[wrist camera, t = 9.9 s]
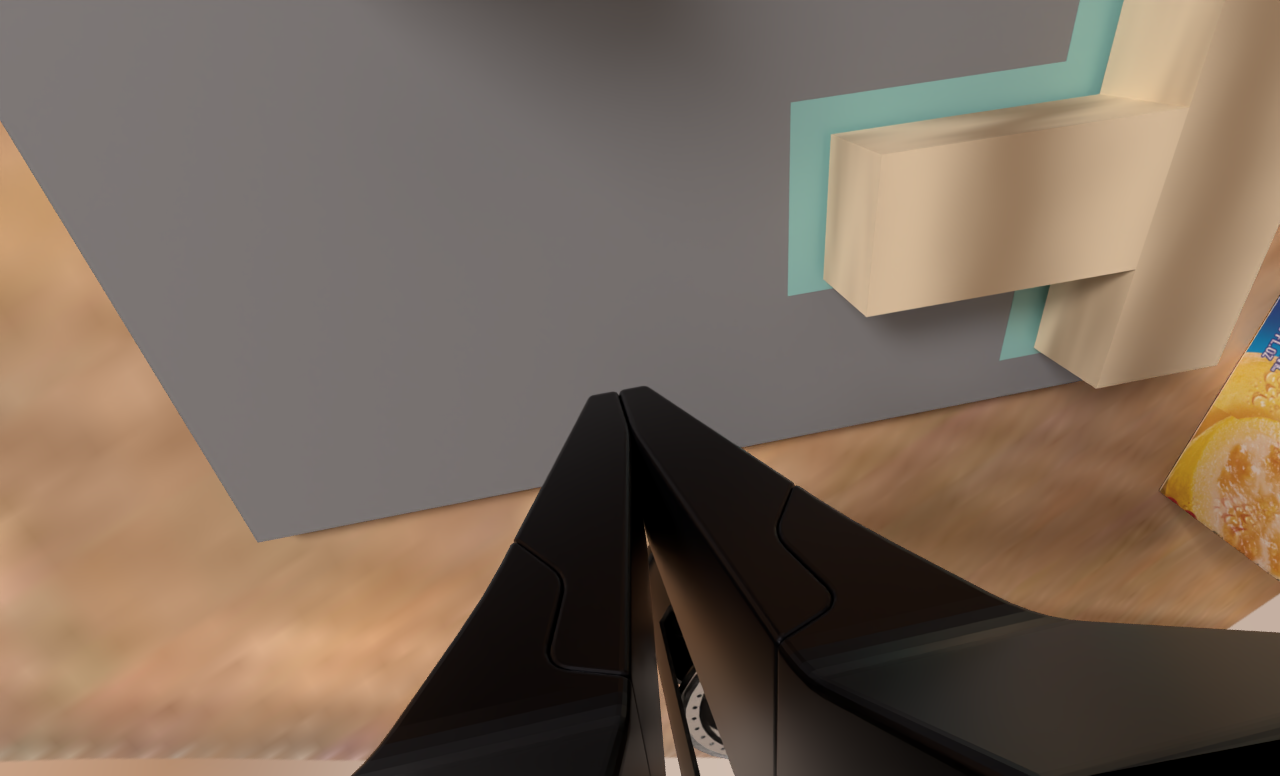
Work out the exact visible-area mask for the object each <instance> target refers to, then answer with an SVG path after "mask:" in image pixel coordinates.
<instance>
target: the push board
mask: <svg viewBox="0 0 1280 776" xmlns="http://www.w3.org/2000/svg"><path fill="white" fill-rule="evenodd" d="M1123 2H1124V0H0V121H1V122H2V124H3V126H4V127H5V129H6V131H7V132H8V134H9V136H10V137H11V139H12V140H13V142H14V144H15V145H16V147H17V149H18V150H19V152H20V154H21V155H22V157H23V159H24V160H25V162H26V163H27V165H28V167H29V168H30V170H31V172H32V173H33V175H34V177H35V178H36V180H37V181H38V183H39V185H40V186H41V188H42V190H43V191H44V193H45V195H46V196H47V198H48V199H49V201H50V203H51V204H52V206H53V208H54V209H55V211H56V213H57V214H58V216H59V218H60V219H61V221H62V222H63V224H64V226H65V227H66V229H67V231H68V232H69V234H70V236H71V237H72V239H73V240H74V242H75V244H76V245H77V247H78V249H79V250H80V252H81V254H82V255H83V257H84V258H85V260H86V262H87V263H88V265H89V267H90V268H91V270H92V272H93V273H94V275H95V277H96V278H97V280H98V281H99V283H100V285H101V286H102V288H103V290H104V291H105V293H106V295H107V296H108V298H109V299H110V301H111V303H112V304H113V306H114V308H115V309H116V311H117V313H118V314H119V316H120V317H121V319H122V321H123V322H124V324H125V326H126V327H127V329H128V331H129V332H130V334H131V335H132V337H133V339H134V340H135V342H136V344H137V345H138V347H139V349H140V350H141V352H142V354H143V355H144V357H145V358H146V360H147V362H148V363H149V365H150V367H151V368H152V370H153V372H154V373H155V375H156V376H157V378H158V380H159V381H160V383H161V385H162V386H163V388H164V390H165V391H166V393H167V394H168V396H169V398H170V399H171V401H172V403H173V404H174V406H175V408H176V409H177V411H178V413H179V414H180V416H181V417H182V419H183V421H184V422H185V424H186V426H187V427H188V429H189V431H190V432H191V434H192V435H193V437H194V439H195V440H196V442H197V444H198V445H199V447H200V449H201V450H202V452H203V453H204V455H205V457H206V458H207V460H208V462H209V463H210V465H211V467H212V468H213V470H214V472H215V473H216V475H217V476H218V478H219V480H220V481H221V483H222V485H223V486H224V488H225V490H226V491H227V493H228V494H229V496H230V498H231V499H232V501H233V503H234V504H235V506H236V508H237V509H238V511H239V512H240V514H241V516H242V517H243V519H244V521H245V522H246V524H247V526H248V527H249V529H250V530H251V532H252V534H253V535H254V537H255V539H256V540H257V542H263V541H268V540H273V539H278V538H283V537H288V536H293V535H298V534H304V533H309V532H314V531H319V530H324V529H329V528H334V527H339V526H344V525H349V524H354V523H359V522H365V521H370V520H375V519H380V518H385V517H390V516H395V515H400V514H405V513H410V512H415V511H421V510H426V509H431V508H436V507H441V506H446V505H451V504H456V503H461V502H466V501H471V500H476V499H482V498H487V497H492V496H497V495H502V494H507V493H512V492H517V491H522V490H527V489H532V488H538V487H542V486H543V484H544V482H545V480H546V478H547V476H548V474H549V472H550V470H551V468H552V466H553V465H554V463H555V461H556V459H557V457H558V455H559V453H560V451H561V449H562V447H563V445H564V444H565V442H566V440H567V438H568V436H569V434H570V432H571V430H572V428H573V426H574V425H575V423H576V421H577V419H578V417H579V415H580V413H581V411H582V409H583V407H584V405H585V404H586V402H587V400H588V398H589V397H590V396H592V395H596V394H601V393H607V392H612V391H614V392H617V393H618V395H619V393H620V391H621V390H623V389H628V388H634V387H639V386H648V387H650V388H651V389H653V390H654V391H656V392H657V393H659V394H660V395H662V396H663V397H665V398H666V399H668V400H669V401H671V402H672V403H674V404H675V405H677V406H678V407H680V408H681V409H683V410H684V411H686V412H687V413H689V414H690V415H692V416H693V417H695V418H696V419H698V420H699V421H701V422H702V423H704V424H706V425H707V426H709V427H710V428H712V429H713V430H715V431H716V432H718V433H719V434H721V435H722V436H724V437H725V438H727V439H728V440H730V441H731V442H733V443H734V444H736V445H737V446H739V447H740V448H741V447H746V446H751V445H756V444H761V443H766V442H772V441H777V440H782V439H787V438H792V437H797V436H802V435H807V434H812V433H817V432H822V431H827V430H833V429H838V428H843V427H848V426H853V425H858V424H863V423H868V422H873V421H878V420H883V419H889V418H894V417H899V416H904V415H909V414H914V413H919V412H924V411H929V410H934V409H939V408H944V407H950V406H955V405H960V404H965V403H970V402H975V401H980V400H985V399H990V398H995V397H1000V396H1006V395H1011V394H1016V393H1021V392H1026V391H1031V390H1036V389H1041V388H1046V387H1051V386H1056V385H1061V384H1067V383H1072V382H1077V381H1082V379H1081V378H1079V377H1077V376H1076V375H1074V374H1073V373H1071V372H1070V371H1068V370H1067V369H1065V368H1064V367H1062V366H1061V365H1059V364H1058V363H1056V362H1055V361H1053V360H1052V359H1050V358H1049V357H1047V356H1045V355H1044V354H1042V353H1041V352H1039V351H1038V350H1036V349H1035V348H1034V345H1035V341H1036V337H1037V334H1038V330H1039V326H1040V322H1041V318H1042V314H1043V310H1044V307H1045V303H1046V299H1047V295H1048V291H1049V287H1050V285H1045V286H1039V287H1034V288H1028V289H1022V290H1017V291H1011V292H1005V293H1000V294H994V295H988V296H983V297H977V298H972V299H966V300H960V301H955V302H949V303H943V304H938V305H932V306H926V307H921V308H915V309H909V310H904V311H898V312H893V313H887V314H881V315H876V316H870V317H866V316H865V315H863V314H862V313H861V312H860V311H859V310H858V309H857V308H855V307H854V306H853V305H852V304H851V303H850V302H849V301H847V300H846V299H845V298H844V297H843V296H842V295H841V294H840V293H838V292H837V291H836V290H835V289H834V288H833V287H832V286H830V285H829V284H828V283H827V282H826V281H825V280H824V279H823V274H824V255H825V236H826V217H827V198H828V179H829V160H830V141H831V134H836V133H843V132H850V131H856V130H863V129H870V128H876V127H883V126H890V125H896V124H903V123H910V122H916V121H923V120H930V119H936V118H943V117H950V116H956V115H963V114H970V113H976V112H983V111H990V110H996V109H1003V108H1010V107H1016V106H1023V105H1030V104H1036V103H1043V102H1050V101H1056V100H1063V99H1070V98H1076V97H1083V96H1090V95H1096V94H1100V90H1101V87H1102V83H1103V79H1104V75H1105V71H1106V67H1107V63H1108V60H1109V56H1110V52H1111V48H1112V44H1113V40H1114V36H1115V32H1116V29H1117V25H1118V21H1119V17H1120V13H1121V9H1122V5H1123Z"/></svg>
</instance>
